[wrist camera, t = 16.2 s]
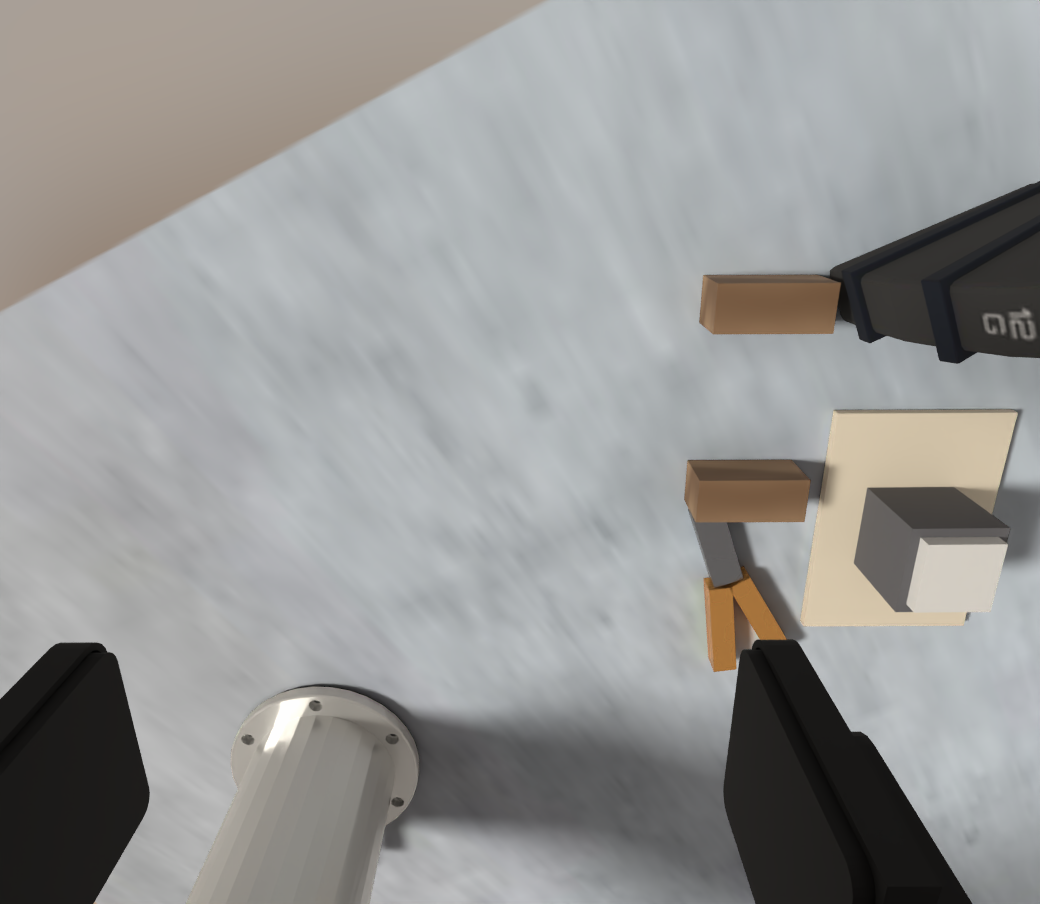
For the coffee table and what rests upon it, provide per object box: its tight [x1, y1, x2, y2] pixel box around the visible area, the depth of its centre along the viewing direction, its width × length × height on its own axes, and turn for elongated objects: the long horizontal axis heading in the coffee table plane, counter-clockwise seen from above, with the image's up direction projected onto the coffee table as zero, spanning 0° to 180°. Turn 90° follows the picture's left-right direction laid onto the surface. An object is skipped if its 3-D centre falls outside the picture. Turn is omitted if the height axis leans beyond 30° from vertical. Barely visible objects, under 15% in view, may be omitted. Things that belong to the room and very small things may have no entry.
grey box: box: [854, 487, 1010, 613], centre depth 40 cm, size 5×5×6 cm
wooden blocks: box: [684, 275, 841, 522], centre depth 39 cm, size 13×6×3 cm, turn 0°
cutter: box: [688, 509, 787, 672], centre depth 44 cm, size 11×5×1 cm, turn 20°
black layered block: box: [830, 181, 1040, 364], centre depth 33 cm, size 4×13×15 cm, turn 114°
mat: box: [800, 409, 1018, 626], centre depth 43 cm, size 14×10×1 cm
